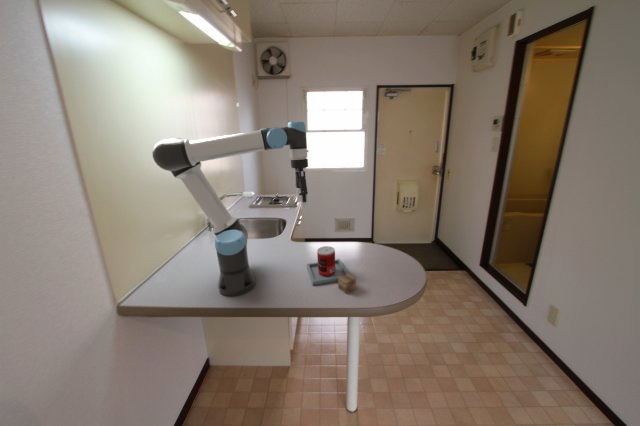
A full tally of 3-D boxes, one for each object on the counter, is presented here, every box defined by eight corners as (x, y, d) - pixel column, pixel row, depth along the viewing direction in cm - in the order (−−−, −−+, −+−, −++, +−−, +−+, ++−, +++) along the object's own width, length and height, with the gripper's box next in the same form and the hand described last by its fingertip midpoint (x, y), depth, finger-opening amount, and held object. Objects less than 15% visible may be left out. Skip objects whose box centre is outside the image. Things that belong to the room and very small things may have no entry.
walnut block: (346, 294, 108) (345, 282, 106) (338, 288, 112) (338, 277, 110) (355, 289, 110) (355, 278, 109) (348, 284, 114) (348, 273, 113)
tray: (312, 285, 114) (312, 281, 114) (306, 267, 129) (306, 263, 129) (349, 279, 117) (349, 275, 117) (339, 262, 132) (339, 259, 132)
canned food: (335, 267, 127) (335, 246, 123) (335, 277, 119) (334, 253, 116) (319, 267, 127) (318, 246, 124) (317, 276, 120) (316, 254, 117)
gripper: (312, 160, 110) (315, 211, 116) (303, 155, 133) (306, 197, 140) (293, 162, 109) (297, 213, 115) (287, 156, 132) (291, 199, 138)
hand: (302, 205), depth 127 cm, fingers open, 13 cm apart
